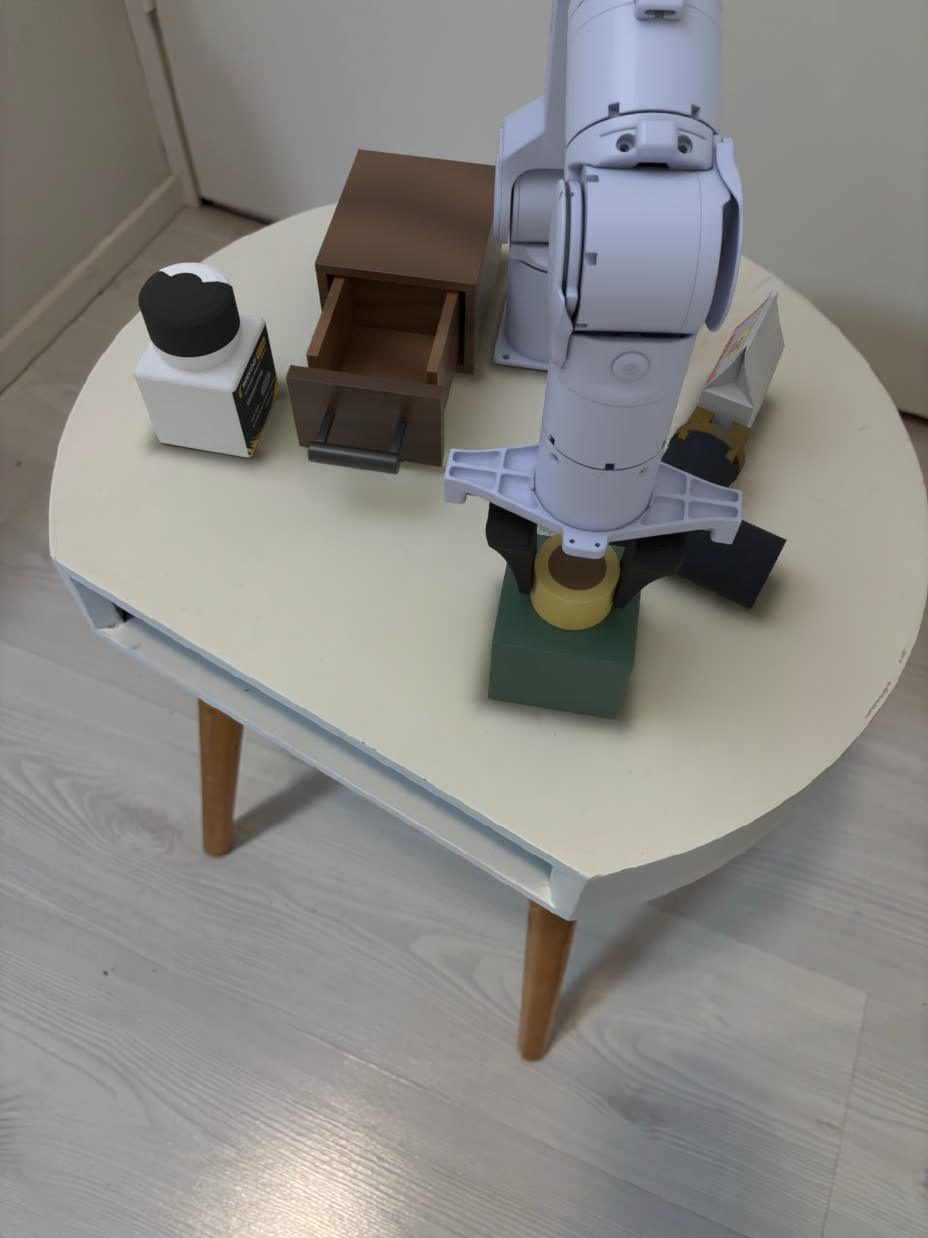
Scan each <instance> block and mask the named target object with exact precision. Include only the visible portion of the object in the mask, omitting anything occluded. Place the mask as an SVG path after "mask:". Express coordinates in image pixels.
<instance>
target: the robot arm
mask: <svg viewBox="0 0 928 1238" xmlns="http://www.w3.org/2000/svg"><path fill="white" fill-rule="evenodd" d="M723 31H724V0H551V9H550V19H549V30H548V43H547V55H546V56H547V57H546V65H545V66H546V67H545V77H544V90H543V95H541V96H539V97H538V98H536V99H534V100H533V101H531V102H529V103H527V104H526V105H524V106H522V107H520V108H519V109H517V110H515V111H513V112H512V113H510V114H509V115H507V116H505V118H504V119H503V126H502V127H501V128H500V129H499V131H498V134H499V135H498V149H497V152H496V154H495V190H494V224H493V234H494V236H495V237H496V238H497V239H499V243H500V244H502V245H509V247H508V249H509V250H508V252H509V254H508V255H509V256H508V270H507V271H508V273H507V285H506V287H507V288H506V296H505V301H504V306H503V311H502V313H501V314H502V315H501V319H500V324H499V328H498V332H497V336H496V341H495V346H494V350H493V354H492V362H494V363H495V364H497V365H505V366H512V367H519V368H526V369H534V370H541V371H547V376H546V383H545V392H544V400H543V408H542V415H541V422H540V423H541V424H540V433H539V441H538V442H536V443H527V444H519V445H513V446H504V447H495V448H487V449H461V448H450V450H449V454H448V459H447V463H446V466H445V472H444V475H443V501H444V502H445V503H450V504H456V505H463V504H465V503H466V501H467V498H468V497H467V496H472V497H478V498H480V499H483V500H485V501H487V502H488V510H487V519H486V522H485V531H484V533H485V539H486V543H487V545H488V547H489V548H491V549H493V550H494V551H495V552H497V553H498V555H500V556H501V557H502V558H503V559H504V561H505V562H506V563H508V565H509V567H510V568H511V570H512V572H513V575H514V577H515V580H516V583H517V586H518V591H519V593H523V594H529V595H530V592H531V586H532V579H533V566H534V559H535V555H536V553H537V534H538V526H541V527H543V528H545V529H548V530H549V531H551V532H554V533H556V534H560V535H561V536H562V538H563V541H562V549H563V551H564V552H565V553H566V554H568V555H571V556H578V557H584V558H591V559H600V558H601V557H603V556H604V554H605V552H606V548H607V544H610V543H609V542H614V541H621V540H628V541H627V544H626V547H625V549H624V552H623V555H622V557H621V560H620V568H621V572H620V578H619V582H618V585H617V589H616V592H615V596H614V599H613V608H620V609H624V608H625V607H626V605H627V604H628V603H629V602H630V600H631V599H632V598H633V597H634V596H635V595H636V594H637V593H638V592H639V591H641V592H642V590H643V589H645V587H647V586H648V585H650V584H652V583H653V582H654V581H658V580H660V579H662V578H665V577H669V576H674V575H676V574H675V573H676V572H677V571H678V569H679V568H680V566H681V565H682V562H683V560H684V557H685V548H686V538H687V535H688V532H689V531H692V530H708V531H711V533H710V538H711V540H712V541H714V542H718V543H725V544H732V542H733V540H734V538H735V535H736V533H737V531H738V528H739V526H740V524H741V521H742V520H743V495H744V494H743V493H744V492H743V490H741V489H737V488H731V487H729V488H727V487H723V486H719V485H716V484H713V483H710V482H708V481H705V480H703V479H700V478H698V477H696V476H693V475H691V474H689V473H686V472H684V471H682V470H679V469H677V468H675V467H672V466H670V465H668V464H665V463H663V462H661V459H662V456H663V455H664V453H665V448H666V444H667V441H668V438H669V435H670V431H671V428H672V425H673V420H674V417H675V413H676V410H677V406H678V403H679V400H680V397H681V393H682V390H683V385H684V382H685V378H686V376H687V373H688V368H689V366H690V361H691V359H692V354H693V351H694V348H695V344H696V341H697V337H698V333H699V332H700V331H701V330H702V327H703V326H704V325H705V327H706V328H707V330H708V331H709V332H711V333H715V332H719V330H720V329H721V328H722V327H723V325H724V323H725V321H726V319H727V316H728V315H729V313H730V309H731V306H732V303H733V299H734V295H735V291H736V288H737V283H738V277H739V271H740V265H741V258H742V252H743V251H742V250H743V241H744V238H743V237H744V223H745V222H744V218H745V217H744V216H745V215H744V212H745V210H744V209H745V203H744V202H745V200H744V190H743V189H744V188H743V182H742V178H741V174H740V170H739V169H738V167H737V164H736V159H735V143H734V140H733V137H725V136H724V137H723V136H722V93H723V43H724V42H723V41H724V40H723V39H724V38H723V37H724V36H723V35H724V32H723Z"/></svg>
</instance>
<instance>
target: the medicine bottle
mask: <svg viewBox="0 0 928 1238" xmlns="http://www.w3.org/2000/svg"><path fill="white" fill-rule="evenodd" d="M137 297H138V299H137V304H138V307H139V310H140V313H141V315H142V319H143V322H144V325H145V327H146V330H147V333H148V337H149V339H150V340H149V341H148V343H147V345H146V347H145V349H144V351H143V353H142V355H141V356H140V359H139V360H138V363H137V364H136V366H135V369H134V370H133V377H134V379H135V382H136V384H137V387H138V390H139V392H140V395H141V397H142V400H143V403H144V405H145V408H146V410H147V413H148V415H149V419H150V421H151V424H152V426H153V430H154V432H155V434H156V437H157V440H158V441H159V442H160V443H161V444H166V445H171V446H178V447H183V448H190V449H195V450H200V451H206V452H212V453H217V454H224V455H230V456H236V457H242V458H251V457H252V456H253V455H254V452H255V450H256V448H257V445H258V442H259V440H260V438H261V435H262V433H263V431H264V428H265V425H266V423H267V420H268V418H269V416H270V413H271V411H272V409H273V406H274V404H275V402H276V399H277V397H278V394H279V393H280V392H279V391H280V384H279V380H278V376H277V370H276V365H275V362H274V357H273V351H272V347H271V342H270V337H269V332H268V328H267V322H266V321H265V319H264V318H263V317H260V316H254V315H253V316H252V315H246V314H240V312H239V308H238V304H237V300H236V296H235V291H234V288H233V285H232V282H231V280H230V279H229V277H228V276H227V275H226V274H225V273H223V272H222V271H221V270H219V269H217V268H215V267H213V266H212V265H209V264H204V263H201V262H181V263H180V262H179V263H174V264H171V265H168V266H165V267H163V268H160V269H159V270H157V271H156V272H155V273H153V274H152V275H150V277H148V278H147V280H146V281H145V283H144V284H143V285H142V287H141V289H140V291H139V293H138V296H137Z"/></svg>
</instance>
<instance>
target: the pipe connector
mask: <svg viewBox="0 0 928 1238" xmlns="http://www.w3.org/2000/svg"><path fill="white" fill-rule="evenodd" d="M714 414H715V413H713V412H711V411H708V410H706V409H703V408H701V407H699V406H697V405H696V406H695V408H694V409H693V411H692V413H691V414H690V415H689V417H688V419H687V420H686V422H685V423H683V424H681V425H680V426H679V427H678V428H677V429H676V430H674V433H673V434H672V435H671V437H670V440H669V441H668V444H667V448H666V450H664V452H663V455H662V459H661V462H663V463H665V464H668V465H670V466H672V467H675V468H677V469H679V470H682V471H684V472H686V473H689V474H691V475H693V476H696V477H698V478H700V479H703V480H705V481H708V482H710V483H713V484H716V485H719V486H723V487H727V488H731V485H733V483H735V482H736V480H737V479H738V477H739V476H740V474H741V472H742V470H743V469H744V467H745V464H746V455H745V451H744V447H745V444H746V443H747V441H748V438H749V436H750V433H751V431H752V427H751V428H748V427H746V426H744V425H741V424H739V423H737V422H734V421H733V422H732V423H731V425H730V427H729V428H728V430H725V429H724V428H722V427H720V426H718V425H715V424H712V420H713V417H714ZM710 533H711V531H708V530H692V531H689V532H688V535H687V538H686V548H685V557H684V560H683V562H682V565H681V566H680V568H679V569H678V571H677V572H676V573H675V574H674V575H677V576H679V577H681V578H683V579H685V580H687V581H689V582H691V583H693V584H695V585H698V586H700V587H701V588H703V589H705V590H708V591H709V592H710V591H711V592H712V593H714V594H716V595H718V596H721V597H723V598H725V599H726V600H729V601H731V602H733V603H736V604H737V605H740V606H741V607H744V608H746V609H748V610H750V611H751V610H752V609H753V606H754V605H755V603H756V601H757V599H758V597H759V595H760V594H761V592H762V589H763V588H764V586H765V584H766V582H767V580H768V578H769V577H770V574H771V572H772V570H773V569H774V567H775V565H776V563H777V560H778V559H779V557H780V555H781V553H782V551H783V549H784V547H785V545H786V543H787V541H788V539H786V538H784V537H781V536H779V535H777V534H775V533H773V532H770V531H768V530H766V529H763V528H761V527H759V526H757V525H755V524H753V523H751V522H749V521H745V520H743V519H742V521H741V524H740V526H739V528H738V531H737V533H736V535H735V538H734V540H733V542H732V544H725V543H718V542H714V541H712V540H711V538H710ZM627 541H628V540H621V541H614V542H609V543H608V544H610V545H613V546H620V547H626V544H627Z"/></svg>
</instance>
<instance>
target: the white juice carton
mask: <svg viewBox="0 0 928 1238" xmlns="http://www.w3.org/2000/svg"><path fill="white" fill-rule="evenodd" d="M773 291H774V289H772V290H771V292H770V293H769V295H768V296H767V298H766V299H765V300H764V302H762V303H761V304H760V306H759V307H757V308H756V310H754V311H753V312H752V313H751V314H750V315H749V316H748V317H746V318H745V319H744V320H743V321H742V322H741V323H739V324H738V326H736V327H735V328H734V330H733V331H732V333H731V335H730V337H729V339H728V341H727V343H726V345H725V346H724V348H723V350H722V352H721V354H720V356H719V358H718V360H717V362H716V363H715V365H714V367H713V369H712V371H711V373H710V374H709V376H708V378H707V380H706V382H705V384H704V386H703V388H702V390H701V393H700V396H699V399H698V401H697V405H696V406H699V407H701V408H703V409H706V410H708V411H711V412H713V413H715V414H714V417H713V420H712V424H715V425H718V426H720V427H722V428H724V429H725V430H728V428H729V427H730V425H731V423H732V422H733V421H734V422H737V423H739V424H741V425H744V426H746V427H748V428H751V429H752V426H753V423H754V422H755V420H756V418H757V416H758V415H759V414H758V413H759V412H760V409H761V407H762V405H763V403H764V401H765V397H766V395H767V393H768V391H769V387H770V385H771V382H772V380H773V378H774V374H775V372H776V369H777V367H778V364H779V361H780V359H781V358H782V357H781V356H782V354H783V352H784V349H785V347H786V346H785V345H786V344H785V340H784V336H783V329H782V325H781V321H780V314H779V305H778V297H779V292H778V291H777V292H775V294H774V295H773Z"/></svg>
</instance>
